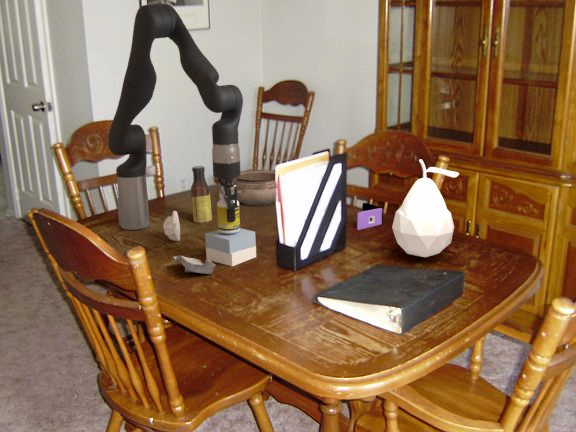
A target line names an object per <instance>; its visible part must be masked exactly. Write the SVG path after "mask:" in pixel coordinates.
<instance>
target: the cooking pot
mask: <svg viewBox="0 0 576 432" xmlns="http://www.w3.org/2000/svg"><path fill="white" fill-rule="evenodd" d="M240 173H241V174H240V176H239V177H237V178H235V181H234V184H235V185H236V187H237V201H238V202H239V203H241V204H242V205H246V206H253V207H254V206H255V207H263V206H270V205H274V204H276V203H275V170H249V171H240Z"/></svg>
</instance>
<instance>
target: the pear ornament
mask: <svg viewBox="0 0 576 432" xmlns="http://www.w3.org/2000/svg"><path fill="white" fill-rule="evenodd" d="M418 162H419V163H420V166H421V169H422V177H421V178H418V179H417V180H416V181H415V182H414V184H413V185H412V187H411V188H410V190H409V191H408V192H407V195H406V196H405V198H404V200H403V202H402V204H401V206H400V207H399V208H398V209H397V210H396V211H395V214H394V218H393V223H392V226H391V227H392V232H393V234H394V237H395V240H396V242H397V244H398V245H399V246H400V248H401V249H403V251H404V252H405V253H406V254H407V255H412V256H416V257H422V258H428V257H431V256H432V257H433V256H435V255H438V254H440V253H441V252H442V251H443V250H445V249H446V247H448V246H449V245H450V244H451V243H452V240H453V234H454V230H455V225H454V221H453V216H452V213H451V211H449V209H448V208H447V204H446V202H445V200H444V198H443V195H442V194H441V191H440V190H439V188H438V186H437V184H436V183H435V182H434V180H433V179H431V178H429V177H427V173H433V174H440V175H443V176H446V177H449V178H453V179H455V178H457V177H459V175H460V172H457V171H454V170H453V171H452V170H448V169H444V168H440V167H435V166H430V167H428V168H427V169H426V165H425V163H424V160H423V159H419V160H418Z"/></svg>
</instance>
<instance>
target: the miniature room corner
mask: <svg viewBox="0 0 576 432" xmlns="http://www.w3.org/2000/svg"><path fill="white" fill-rule="evenodd" d="M361 208H362V209H361V210H362V211H359V212H357V213H356V214H357V219H356V229H357V231H360V230H363V229H367V228H371V227H376V226H380V225H383V223H384V208H383V207H381V206H377V205H374V204H370V203H368V202H362V207H361Z"/></svg>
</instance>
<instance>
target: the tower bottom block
mask: <svg viewBox="0 0 576 432" xmlns="http://www.w3.org/2000/svg"><path fill="white" fill-rule="evenodd" d="M205 253H206V257H205V258H206V259H205V260H207V259H209V260H211V261H212V262H214V263H218V264H221V265H222V264H223V265H227V266H230V267H235V266H237V265H240V264H242V263H244V262H246V261H249V260H252V259H255V258H257V244H256V245H255V246H252V247H249V248H246V249H243V250H240V251H238V252H235V253H232V254H228V253H224V252H221V251H217V250H214V249H211V248H207V247H206V246H205Z"/></svg>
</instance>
